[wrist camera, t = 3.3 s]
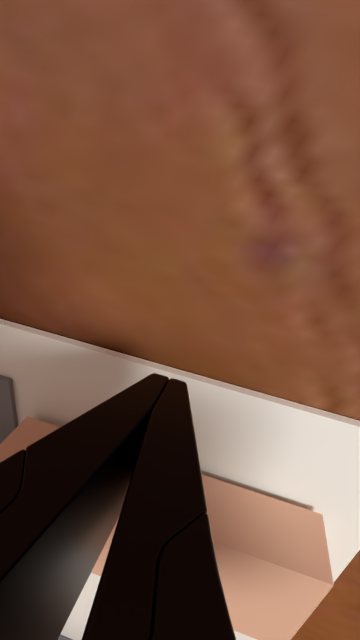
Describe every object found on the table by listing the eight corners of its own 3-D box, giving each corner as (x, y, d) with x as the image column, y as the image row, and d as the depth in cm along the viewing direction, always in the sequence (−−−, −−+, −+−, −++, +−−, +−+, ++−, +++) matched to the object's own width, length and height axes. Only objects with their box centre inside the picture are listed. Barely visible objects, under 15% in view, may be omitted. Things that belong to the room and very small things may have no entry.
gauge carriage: (322, 514, 11) (333, 585, 9) (280, 581, 14) (282, 649, 12) (-35, 395, 14) (-85, 433, 12) (-18, 470, 16) (-58, 512, 14)
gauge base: (433, 441, 10) (493, 538, 7) (219, 721, 24) (214, 787, 21) (-81, 295, 12) (-170, 327, 10) (3, 624, 27) (-25, 671, 24)
